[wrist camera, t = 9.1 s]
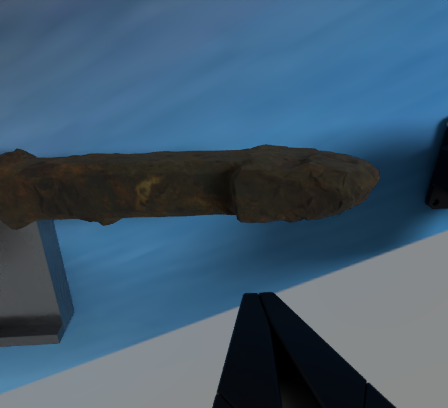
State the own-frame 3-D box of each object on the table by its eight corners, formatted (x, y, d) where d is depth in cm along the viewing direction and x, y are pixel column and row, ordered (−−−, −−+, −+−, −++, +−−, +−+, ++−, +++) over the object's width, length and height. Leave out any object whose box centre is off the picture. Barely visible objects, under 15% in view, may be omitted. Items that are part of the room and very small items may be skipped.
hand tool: (44, 206, 20) (-18, 245, 16) (24, 144, 19) (-50, 169, 14) (361, 211, 17) (386, 261, 13) (370, 136, 15) (402, 165, 11)
